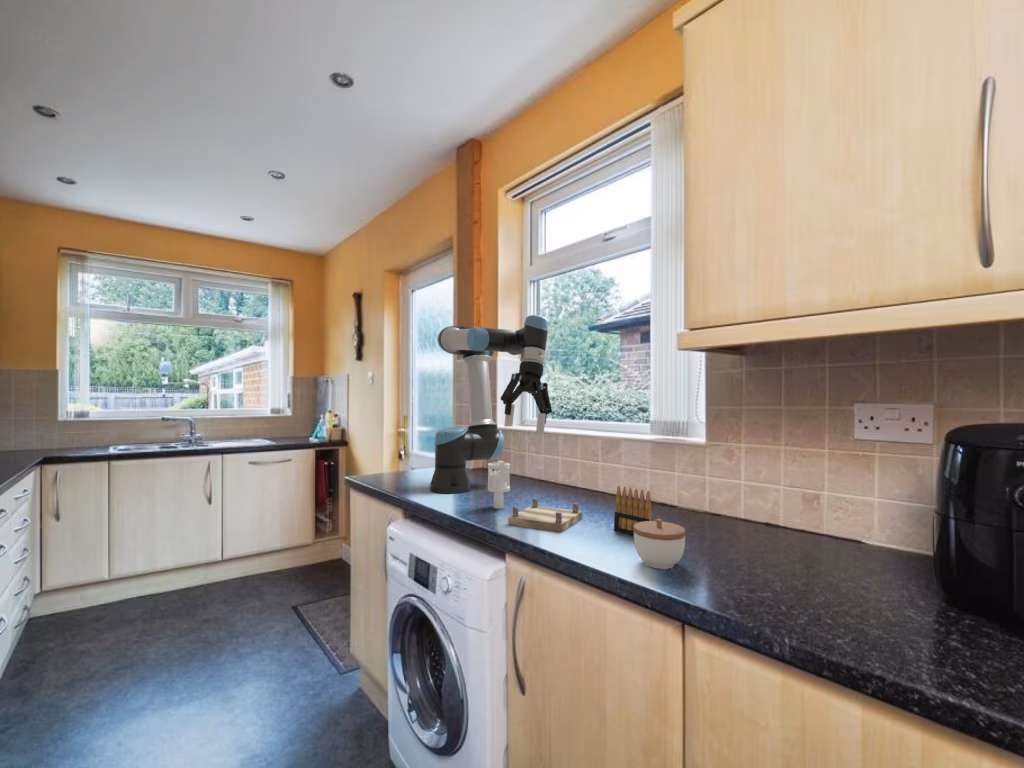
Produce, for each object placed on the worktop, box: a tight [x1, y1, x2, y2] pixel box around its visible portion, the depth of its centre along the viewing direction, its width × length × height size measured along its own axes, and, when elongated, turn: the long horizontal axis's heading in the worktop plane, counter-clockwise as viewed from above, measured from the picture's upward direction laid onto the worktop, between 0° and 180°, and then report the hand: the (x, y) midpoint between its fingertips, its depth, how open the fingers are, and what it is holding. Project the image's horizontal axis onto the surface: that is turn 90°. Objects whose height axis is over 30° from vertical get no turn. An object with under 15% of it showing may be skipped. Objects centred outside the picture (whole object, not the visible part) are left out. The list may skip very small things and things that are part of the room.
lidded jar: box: [633, 518, 687, 570], centre depth 101 cm, size 11×11×9 cm
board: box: [507, 497, 583, 533], centre depth 135 cm, size 16×16×4 cm
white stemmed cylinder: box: [487, 460, 511, 509], centre depth 151 cm, size 7×7×15 cm
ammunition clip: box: [613, 485, 654, 537], centre depth 123 cm, size 11×2×12 cm, turn 43°
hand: (524, 430), depth 144 cm, fingers open, 13 cm apart
